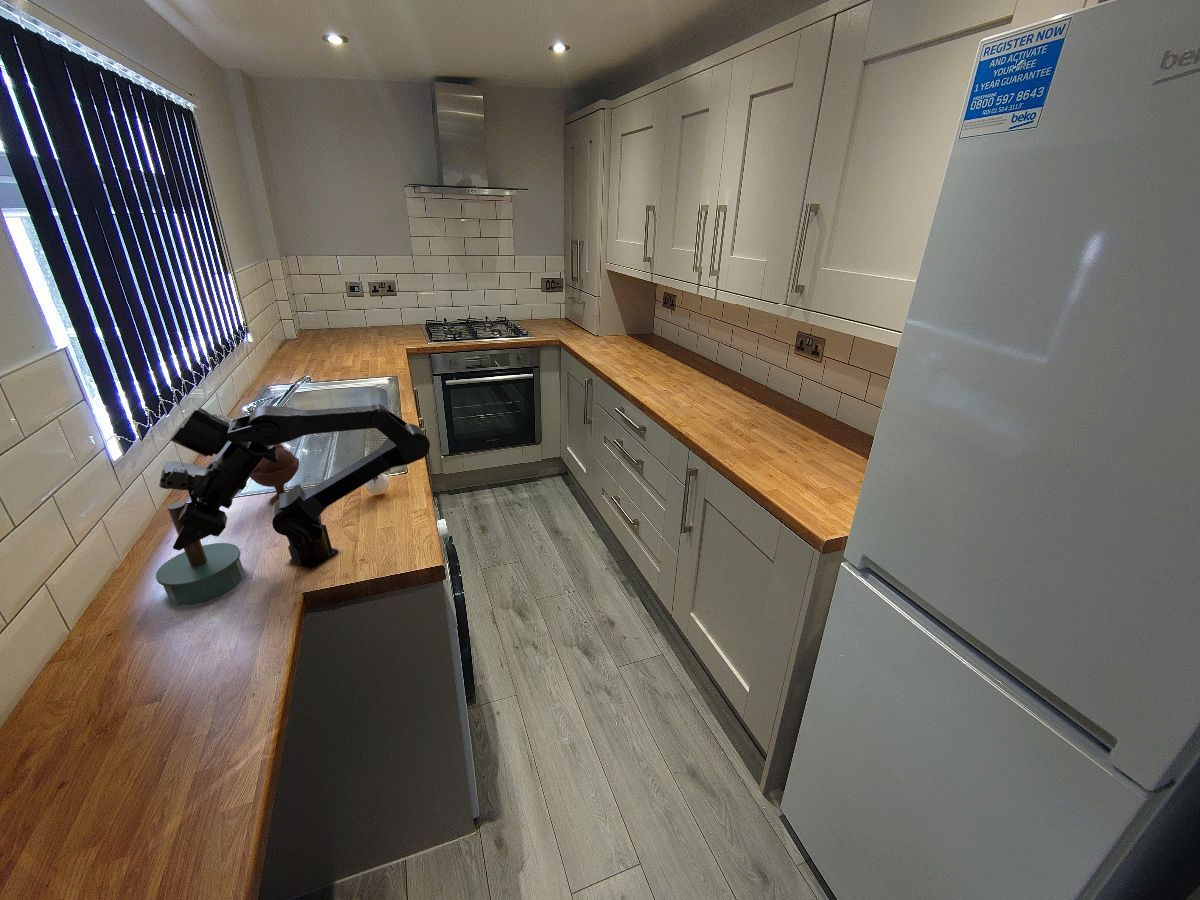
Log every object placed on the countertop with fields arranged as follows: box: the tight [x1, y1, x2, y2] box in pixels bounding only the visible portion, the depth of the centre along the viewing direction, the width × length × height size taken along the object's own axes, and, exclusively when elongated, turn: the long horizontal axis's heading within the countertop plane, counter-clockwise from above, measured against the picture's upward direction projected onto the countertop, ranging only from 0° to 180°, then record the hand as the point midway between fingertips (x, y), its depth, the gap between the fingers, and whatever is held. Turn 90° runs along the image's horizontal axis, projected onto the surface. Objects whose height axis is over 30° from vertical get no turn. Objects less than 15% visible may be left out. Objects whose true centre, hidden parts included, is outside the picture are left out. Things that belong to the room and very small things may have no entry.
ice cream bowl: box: [249, 443, 300, 506], centre depth 125 cm, size 11×11×15 cm
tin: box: [163, 557, 246, 606], centre depth 97 cm, size 12×12×5 cm
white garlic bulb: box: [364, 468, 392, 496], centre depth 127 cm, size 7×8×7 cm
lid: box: [155, 501, 241, 587], centre depth 93 cm, size 13×13×13 cm
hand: (179, 538), depth 93 cm, fingers open, 7 cm apart
